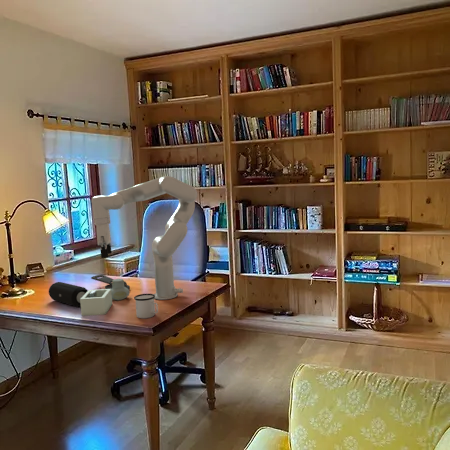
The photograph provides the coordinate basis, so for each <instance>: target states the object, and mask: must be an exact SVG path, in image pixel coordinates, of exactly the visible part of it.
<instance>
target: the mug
mask: <svg viewBox="0 0 450 450" xmlns="http://www.w3.org/2000/svg"><path fill="white" fill-rule="evenodd" d="M154 294H155V293H141V294H138V295H135V296H134V297H133V299H134V300H135V311H136V314H135V315H136V318H139V319H150V318H152V317H154V316H155V315H156V314H158V313H159V305H158V303H157V302H155V299H154V298H155V295H154Z"/></svg>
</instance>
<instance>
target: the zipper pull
mask: <svg viewBox="0 0 450 450" xmlns="http://www.w3.org/2000/svg"><path fill="white" fill-rule="evenodd" d="M90 279H91V280H95V281H98V282H100V283H105V284H106V285H105V286H104V289H112V288H113V287H112V281H113V280H114V279H115V278H112V277H109V276H106V275H104V274H97V275H93V276H91V277H90ZM124 287H126V288H128V289H129V291H130V289H131V286H130V285H129V284H127V282H126V280H124Z"/></svg>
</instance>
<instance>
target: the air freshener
mask: <svg viewBox="0 0 450 450" xmlns="http://www.w3.org/2000/svg"><path fill="white" fill-rule="evenodd" d="M113 279H114V280H113V281H112V287H113V288H112V289H111V292H112V301H113V300H114V301H122V300H124V299H126V298H128V297H129V296H130V293H131V291H130V290H129V289H128V288H126V287H124V281H125V280H124V279H123V278H113Z"/></svg>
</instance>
